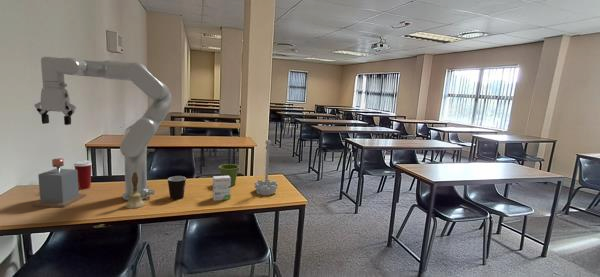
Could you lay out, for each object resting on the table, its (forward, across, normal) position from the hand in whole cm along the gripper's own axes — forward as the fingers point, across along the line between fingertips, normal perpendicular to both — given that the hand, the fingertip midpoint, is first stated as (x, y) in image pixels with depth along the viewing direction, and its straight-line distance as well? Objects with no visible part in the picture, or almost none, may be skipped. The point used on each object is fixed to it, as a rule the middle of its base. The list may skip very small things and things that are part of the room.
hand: (56, 124), depth 134 cm
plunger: (+35, 0, 0) cm, 35 cm away
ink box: (+37, -72, -12) cm, 81 cm away
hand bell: (+37, -34, +2) cm, 50 cm away
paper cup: (+36, +2, -18) cm, 41 cm away
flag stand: (+37, -94, -26) cm, 104 cm away
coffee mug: (+37, -50, -12) cm, 63 cm away
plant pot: (+37, -71, -35) cm, 87 cm away
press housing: (+36, 0, 0) cm, 36 cm away
